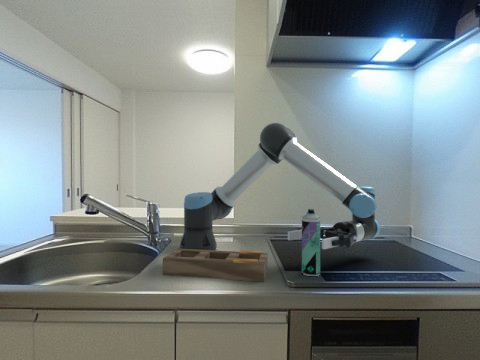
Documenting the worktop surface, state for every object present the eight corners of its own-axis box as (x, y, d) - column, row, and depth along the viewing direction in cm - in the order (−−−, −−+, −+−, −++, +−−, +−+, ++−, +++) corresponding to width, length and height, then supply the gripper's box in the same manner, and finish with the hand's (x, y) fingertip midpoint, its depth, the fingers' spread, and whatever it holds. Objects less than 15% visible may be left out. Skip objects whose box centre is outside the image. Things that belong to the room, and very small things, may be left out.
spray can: (306, 270, 88) (306, 207, 88) (323, 273, 85) (323, 208, 85) (298, 274, 84) (298, 209, 84) (315, 278, 80) (315, 210, 80)
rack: (178, 262, 96) (178, 247, 96) (267, 268, 90) (267, 251, 90) (162, 274, 84) (162, 256, 84) (264, 281, 78) (264, 262, 78)
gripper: (383, 250, 84) (340, 262, 72) (318, 236, 105) (276, 244, 93) (383, 226, 84) (340, 234, 72) (318, 217, 105) (276, 222, 93)
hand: (304, 239), depth 83 cm, fingers open, 13 cm apart
